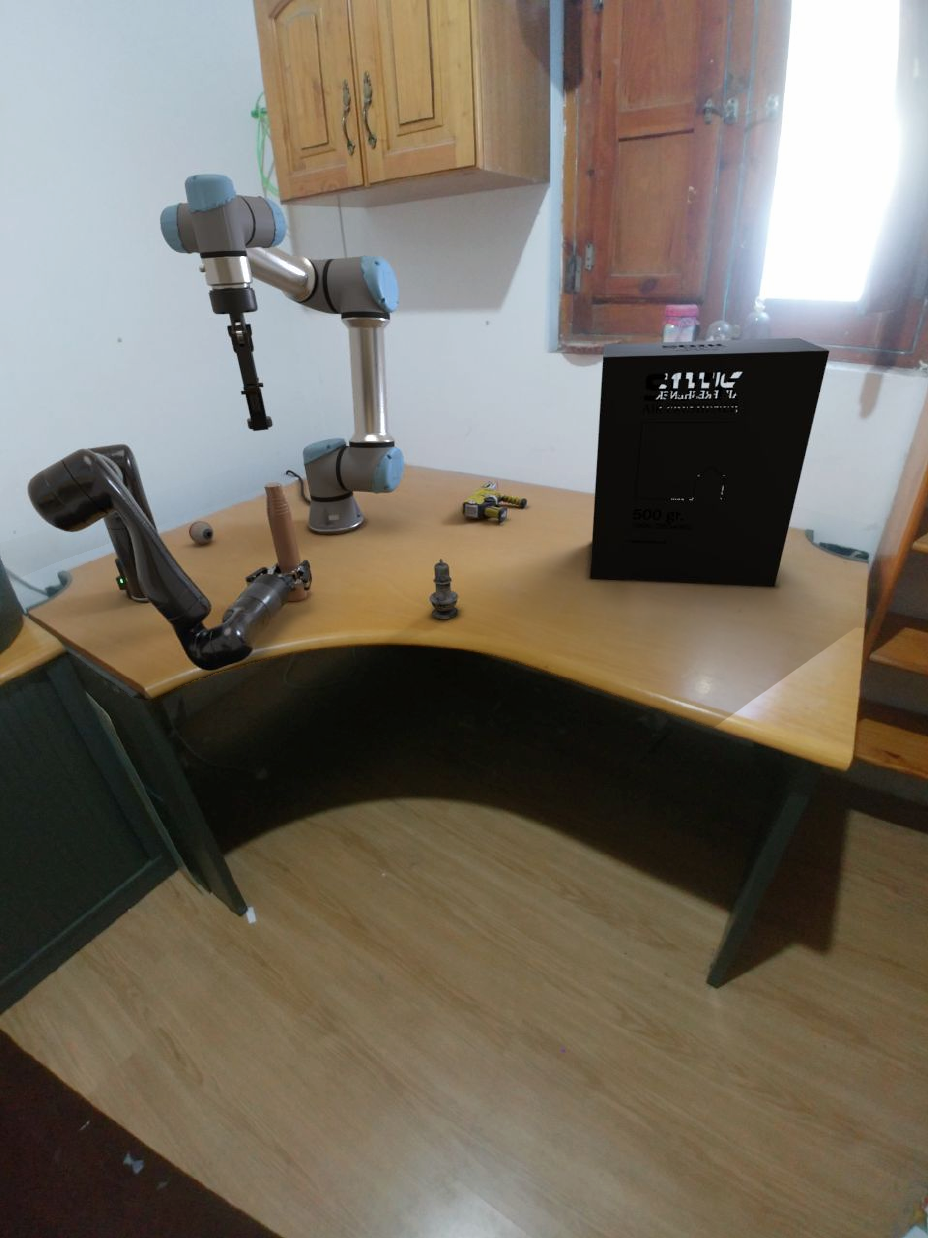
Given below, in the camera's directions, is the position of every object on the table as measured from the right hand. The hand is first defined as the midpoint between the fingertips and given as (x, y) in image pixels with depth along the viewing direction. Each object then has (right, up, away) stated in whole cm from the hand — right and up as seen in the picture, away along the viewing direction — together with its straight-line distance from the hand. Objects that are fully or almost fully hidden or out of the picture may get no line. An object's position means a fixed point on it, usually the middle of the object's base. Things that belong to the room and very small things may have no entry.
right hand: (260, 426), depth 114 cm
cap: (0, +1, -1) cm, 1 cm away
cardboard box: (+87, -24, +23) cm, 93 cm away
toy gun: (+49, -5, +60) cm, 77 cm away
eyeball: (-31, -16, +48) cm, 60 cm away
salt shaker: (+35, -35, +8) cm, 50 cm away
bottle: (+2, -32, +18) cm, 36 cm away
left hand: (+2, -24, +17) cm, 30 cm away
